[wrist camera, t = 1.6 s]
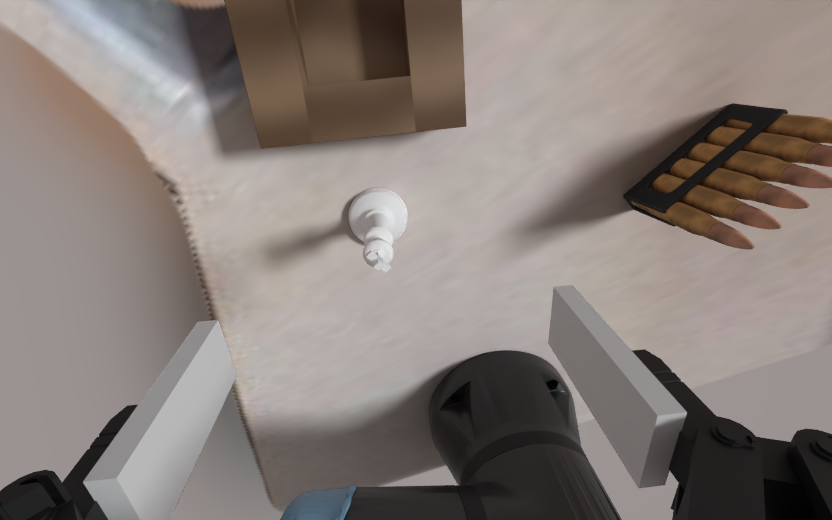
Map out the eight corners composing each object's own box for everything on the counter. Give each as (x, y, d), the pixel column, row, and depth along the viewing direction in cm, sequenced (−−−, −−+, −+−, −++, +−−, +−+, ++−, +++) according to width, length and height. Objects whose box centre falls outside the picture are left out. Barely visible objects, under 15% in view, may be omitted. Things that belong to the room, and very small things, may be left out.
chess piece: (380, 254, 35) (381, 315, 26) (336, 218, 34) (321, 269, 25) (419, 214, 34) (434, 264, 25) (375, 175, 33) (374, 212, 24)
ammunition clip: (731, 102, 33) (909, 114, 22) (741, 119, 33) (918, 139, 22) (622, 195, 35) (732, 248, 24) (633, 209, 36) (745, 267, 25)
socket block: (456, 120, 31) (466, 126, 28) (274, 140, 31) (261, 148, 27) (444, -112, 26) (455, -143, 22) (221, -93, 25) (194, -122, 21)
